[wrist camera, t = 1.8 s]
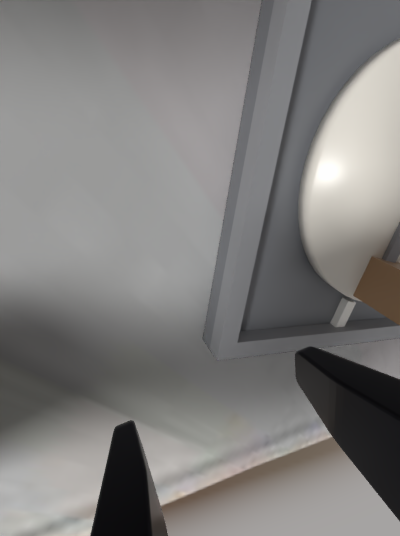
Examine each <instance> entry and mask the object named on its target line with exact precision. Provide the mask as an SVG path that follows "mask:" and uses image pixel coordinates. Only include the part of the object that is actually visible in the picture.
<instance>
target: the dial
mask: <svg viewBox="0 0 400 536" xmlns="http://www.w3.org/2000/svg"><path fill="white" fill-rule="evenodd" d="M298 221H299V230H300V236H301V240H302V244H303V248H304V251H305V253H306V255H307V258H308V260H309V262H310V264H311V265H312V267H313V269H314V270H315V272H316V273H317V274H318V275H319V276H320V277H321V278H322V279H323V280H324V281H325V282H326V283H327V284H329V285H330V286H332V287H333V288H334V289H336V290H338V291H339V292H341V293H342V294H344V295H345V296H347V297H350V298H352V299H354V300H357V301H361V302H364V303H365V304H367V305H368V306H370V307H372V308H373V309H375V310H376V311H378V312H379V313H381V314H382V315H384V316H386V317H387V318H389V319H390V320H392V321H393V322H395V323H396V324H398V325H400V38H399V39H397V40H395V41H393V42H391V43H389V44H388V45H386V46H385V47H384V48H382V49H381V50H379V51H378V52H376V53H375V54H374V55H373V56H372V57H370V58H369V59H368V60H367V61H366V62H365V63H364V64H363V65H362V66H360V67H359V68H358V70H357V71H356V72H355V73H354V74H353V75H352V76H351V77H350V79H349V80H348V81H347V82H346V83H345V84H344V86H343V87H342V89H341V90H340V91H339V93H338V94H337V96H336V97H335V98H334V100H333V101H332V103H331V105H330V106H329V108H328V110H327V112H326V113H325V115H324V117H323V119H322V120H321V122H320V124H319V127H318V129H317V131H316V133H315V136H314V138H313V140H312V143H311V146H310V149H309V152H308V155H307V158H306V161H305V164H304V169H303V173H302V178H301V182H300V191H299V199H298Z"/></svg>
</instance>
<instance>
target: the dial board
mask: <svg viewBox="0 0 400 536" xmlns="http://www.w3.org/2000/svg"><path fill="white" fill-rule="evenodd" d="M399 38H400V0H262V3H261V9H260V15H259V20H258V26H257V32H256V38H255V43H254V49H253V55H252V60H251V66H250V72H249V78H248V83H247V89H246V95H245V100H244V106H243V112H242V118H241V123H240V129H239V135H238V140H237V146H236V152H235V158H234V163H233V169H232V175H231V180H230V186H229V192H228V198H227V203H226V209H225V215H224V220H223V226H222V232H221V238H220V243H219V249H218V255H217V260H216V266H215V272H214V278H213V283H212V289H211V295H210V300H209V306H208V312H207V318H206V323H205V329H204V335H203V340H204V342H205V343H206V345H207V346H208V348H209V349H210V351H211V353H212V354H213V356H214V357H215V359H216V360H217V361H219V360H227V359H235V358H243V357H251V356H259V355H267V354H276V353H284V352H292V351H299V350H301V349H303V348H306V347H309V346H312V347H316V348H324V347H332V346H340V345H348V344H356V343H364V342H372V341H380V340H388V339H396V338H400V325H398V324H396V323H395V322H393V321H392V320H390V319H389V318H387V317H386V316H384V315H382V314H381V313H379V312H378V311H376V310H375V309H373V308H372V307H370V306H368V305H367V304H365V303H364V302H361V301H357V300H354V299H352V298H350V297H347V296H345V295H344V294H342V293H341V292H339V291H338V290H336V289H334V288H333V287H332V286H330V285H329V284H327V283H326V282H325V281H324V280H323V279H322V278H321V277H320V276H319V275H318V274H317V273H316V272H315V270H314V269H313V267H312V265H311V264H310V262H309V260H308V258H307V255H306V253H305V251H304V248H303V244H302V240H301V236H300V230H299V221H298V199H299V191H300V182H301V178H302V173H303V169H304V164H305V161H306V158H307V155H308V152H309V149H310V146H311V143H312V140H313V138H314V136H315V133H316V131H317V129H318V127H319V124H320V122H321V120H322V119H323V117H324V115H325V113H326V112H327V110H328V108H329V106H330V105H331V103H332V101H333V100H334V98H335V97H336V96H337V94H338V93H339V91H340V90H341V89H342V87H343V86H344V84H345V83H346V82H347V81H348V80H349V79H350V77H351V76H352V75H353V74H354V73H355V72H356V71H357V70H358V68H359V67H360V66H362V65H363V64H364V63H365V62H366V61H367V60H368V59H369V58H370V57H372V56H373V55H374V54H375V53H376V52H378V51H379V50H381V49H382V48H384V47H385V46H386V45H388V44H389V43H391V42H393V41H395V40H397V39H399Z"/></svg>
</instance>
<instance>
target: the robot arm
mask: <svg viewBox="0 0 400 536" xmlns="http://www.w3.org/2000/svg"><path fill="white" fill-rule="evenodd" d="M295 370H296V379H297V382H298V384H299V386H300V387H301V389H302V390H303V392H304V393H305V395H306V397H307V398H308V400H309V401H310V403H311V404H312V406H313V407H314V409H315V411H316V412H317V414H318V415H319V417H320V418H321V420H322V421H323V423H324V424H325V426H326V428H327V429H328V431H329V432H330V433H331V435H332V436H333V438H334V439H335V441H336V442H337V443H338V444H339V446H340V447H341V448H342V450H343V451H344V452H345V453H346V455H347V456H348V457H349V458H350V460H351V461H352V462H353V463H354V465H355V466H356V467H357V468H358V470H359V471H360V472H361V473H362V475H363V476H364V477H365V478H366V480H367V481H368V482H369V483H370V485H371V486H372V487H373V488H374V490H375V491H376V492H377V493H378V495H379V496H380V497H381V498H382V500H383V501H384V502H385V503H386V505H387V506H388V507H389V508H390V509H391V511H392V512H393V513H394V515H395V516H396V517H397V518H398V520H399V521H400V379H397V378H395V377H392V376H389V375H387V374H384V373H381V372H379V371H376V370H373V369H371V368H368V367H366V366H363V365H360V364H358V363H355V362H352V361H350V360H347V359H345V358H342V357H339V356H337V355H334V354H331V353H329V352H326V351H323V350H321V349H318V348H316V347H312V346H309V347H306V348H303V349H301V350H299V351H297V352H296V354H295ZM90 536H168V534H167V529H166V524H165V520H164V516H163V513H162V509H161V506H160V502H159V499H158V496H157V492H156V489H155V486H154V482H153V479H152V476H151V472H150V469H149V466H148V463H147V459H146V456H145V453H144V449H143V446H142V443H141V440H140V437H139V434H138V432H137V429H136V426H135V423H134V421H132V420H130V421H128V422H125V423H123V424H120V425H118V426H116V427H115V429H114V432H113V437H112V441H111V446H110V450H109V455H108V459H107V463H106V468H105V472H104V477H103V481H102V486H101V490H100V495H99V499H98V504H97V508H96V513H95V517H94V522H93V526H92V531H91V535H90Z"/></svg>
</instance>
